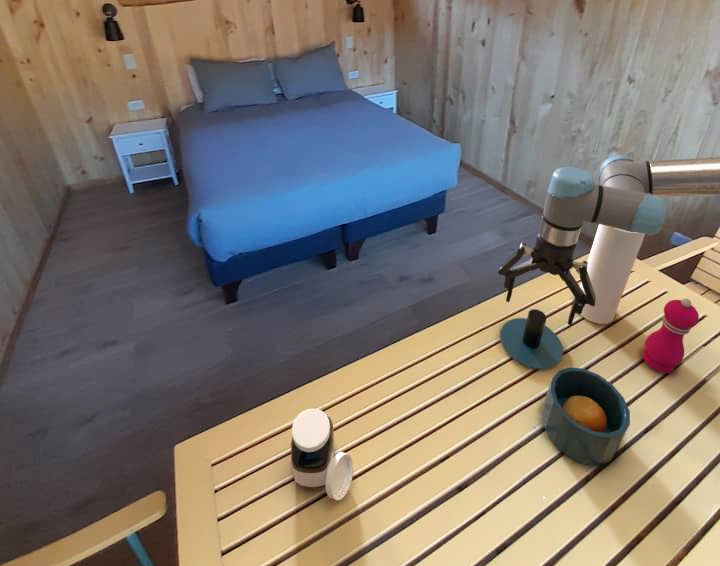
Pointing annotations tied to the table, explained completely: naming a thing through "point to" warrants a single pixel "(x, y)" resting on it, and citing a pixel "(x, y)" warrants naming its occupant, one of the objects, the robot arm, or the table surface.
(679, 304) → the pepper mill
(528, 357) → the lid
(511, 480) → the table surface
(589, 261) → the cylinder container
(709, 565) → the table surface
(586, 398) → the fruit
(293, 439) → the spread jar
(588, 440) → the pot
